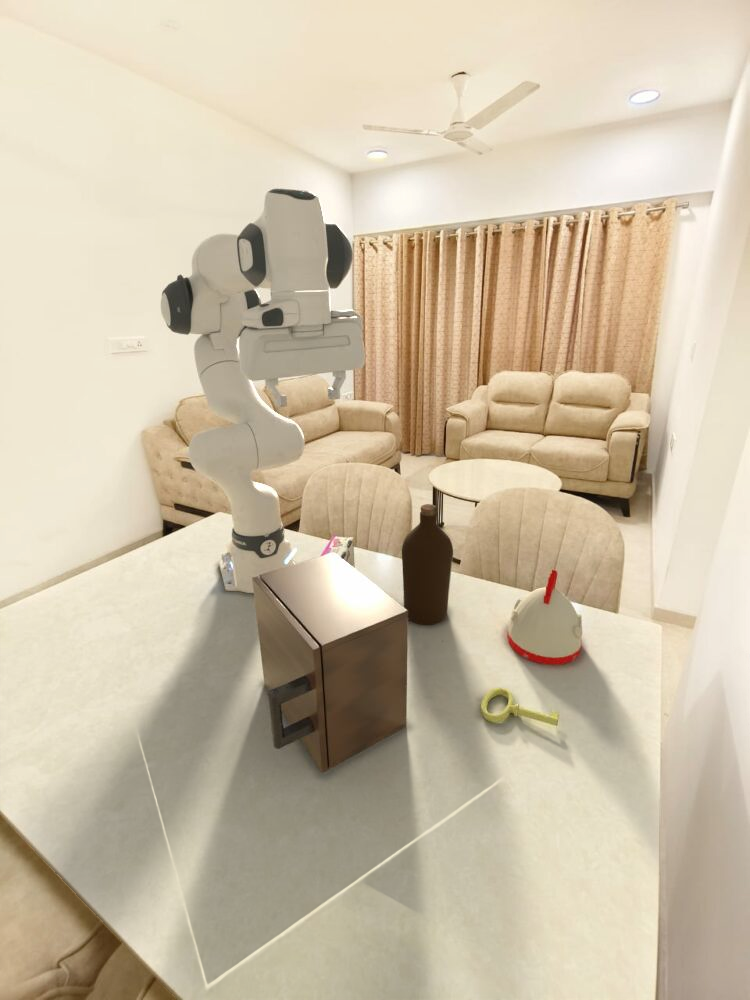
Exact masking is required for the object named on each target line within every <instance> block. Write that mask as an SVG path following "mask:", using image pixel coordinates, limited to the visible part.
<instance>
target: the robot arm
mask: <svg viewBox="0 0 750 1000" xmlns="http://www.w3.org/2000/svg"><path fill="white" fill-rule="evenodd" d="M263 203H264V204H263V211H262V212H261V214H260V216H259V217H258V218H257V219H256V220H255V221H253V222H250V223H248V224H247V225H246V226H245V227H244V228H243V229H242V230H241V232H240V233H239V234H236V233H228V232H227V233H226V232H225V233H217V234H214V235H210V236H209V237H207V238H205V239H204V240H203V241H202V242H200V243H199V244H198V246H197V247H196V248H195V250H194V252H193V254H192V258H191V275H190V276H189V277H187V276H186V277H184V276H183V275H182V274H178V275H177V278H176V280H174V281H172V282H170V283H169V284H167V286H166V287H165V288H164V289H163V290H162V293H161V298H160V312H161V315H162V318H163V320H164V322H165V324H166V327H167V328H168V329H169V330H170V331H171V332H173V333H175V334H178V335H187V336H188V335H190V334H191V335H199V337H197V339H196V340H195V342H194V345H193V352H194V353H193V354H194V362H195V368H196V372H197V374H198V375H197V376H198V379H199V382H200V385H201V388H202V391H203V394H204V397H205V400H206V403H207V406H208V409H209V410H210V411H211V412H212V413H213V414H214V415H215V416H216V417H218V418H220V419H222V420H225V421H228V422H231V423H233V424H228V425H220V426H214V427H211V428H207V429H205V430H202V431H199V432H197V433H195V434H194V435H193V436H192V438H191V440H190V442H189V444H188V453H187V454H188V459H189V462H190V464H191V466H192V468H193V469H194V470H195V472H197V474H199V476H200V475H201V476H202V477H203V478H206V479H208V480H209V481H212V482H213V483H214V484H215V485H217V486H218V487H219V488H220V489H221V490H222V492H223V493H224V496H225V497H226V499H227V501H228V505H229V509H230V514H231V519H232V526H233V527H232V529H231V540H230V542H228V543H227V544H226V546H225V547H226V552H225V553H221V559H220V560H219V561H218V562H219V563H218V565H219V566H218V567H219V569H220V573H221V574H220V575H221V578H222V581H223V585H224V590H225V591H227V592H241V593H246V594H247V593H248V594H254V591H253V582H252V578H253V577H257V576H258V577H259V575H261V574H264V573H267V572H270V571H274V570H277V569H280V568H284V567H287V566H290V565H294V564H297V563H296V562H295V561H294V560H293V556H295V554H296V553H297V548H296V547H295V548H294V549H293V550H292V548H291V547H292V546H291V543H290V541H289V540H287V538H285V527H284V523H283V522H282V517H281V505H280V497H279V495H278V493H277V491H276V490H275V489H274V488H272V487H271V486H269V485H267V484H263V483H261V482H256V481H254V480H253V473H255V472H260V471H265V470H271V469H277V468H282V467H284V466H288V465H289V464H291V463H295V462H296V461H298V460H300V459H301V457H302V456H303V454H304V451H305V448H306V447H305V445H306V440H305V436H304V433H303V430H302V428H301V427H300V426H299V425H298V424H297V423H296V422H295V421H293V420H292V419H289V418H287V417H284V416H282V415H281V414H278V413H277V412H276V411H274V410H273V409H272V408H270V406H268V405H267V403H265V402H264V401H263V400H262V398H261V397H260V395H259V394H258V392H257V389H256V388H255V386H254V384H253V382H257V381H258V382H259V381H264V385H265V386H266V387H267V389H268V391H269V392H270V393H271V395H272V396H273V402H274V403H273V404H274V407H276V408H284V407H287V406H288V402H287V400H288V399H287V395H285V394H283V393H280V391H279V390H278V388H277V387H278V386H279V379H282V378H293V377H300V376H309V375H310V376H311V375H320V374H327V373H332V377H334V381H333V383H332V385H331V387H327V398H328V400H332V401H334V400H340V399H341V389H342V386H343V384H344V382H345V380H346V378H347V373H346V372H348V371H354V370H355V371H356V370H361V369H363V367H364V366H365V364H366V351H365V345H364V339H363V320H362V319H363V318H362V317H361V315H359V313H357V312H355V311H354V310H353V309H345V310H338V309H337V310H335V309H334V310H332V309H331V308H332V307H331V290H330V289H332V290H333V289H338V288H339V287H340V286H341V284H342V283H344V281H345V280H346V279H347V277H348V275H349V274H350V271H351V270H352V266H353V262H354V261H353V259H354V254H353V248H352V244H351V242H350V239H349V238H348V237H347V235H346V233H345V232H344V231H343V230H342V229H341V227H340V225H338V224H337V223H336V222H334V221H326V219H325V215H324V214H325V213H324V210H323V205H322V202H321V199H320V197H319V196H318V195H317V194H315V192H312V191H309V190H301V189H300V190H299V189H289V188H272V189H271V190H269V191H267V192H266V193H265V195H264V202H263ZM259 288H261V289H269V290H270V292H269V293H270V300H268V301H266V302H263V303H262V301H261V296H260V294H259V293H258V291H257V289H259ZM276 386H277V387H276ZM259 578H260V577H259Z"/></svg>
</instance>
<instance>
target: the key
mask: <svg viewBox="0 0 750 1000" xmlns="http://www.w3.org/2000/svg"><path fill="white" fill-rule="evenodd" d="M497 696H503V697H505V698H506V699H507V700H508V702H507V705H506V707H505V708H504V709H503V710H502V711H501V712H499V713H491V712H489V711H488V705H489V702H490V700H491V699H493V698H494V697H497ZM480 711H481V714H482V716H483V718H484V719H485V720H486V721H488V722H490V723H496V724H497V723H502V722H503V721H505V720H507V719H508V717H509V716H510V714H511V713H512V714H513V716H514V717H518V716H522V717H524V718H528V719H531V720H535V721H539V722H541V723H546V724H549V725H552V726H555V727H557V726H558V725H559V716H560V711H557V712H556V711H555V710H551V712H550V715H548V714H545V713H542V712H538V711H534V710H532V709H528V708H525V707H522V706H520V704H519V703H516V704H514V697H513V694H512V692H511V691H510V690H509V689H507V688H504V687H495V688H493V689H490V690H489V691H488V692H487V693H486V694H485V695H484V697H483V698H482V701H481V703H480Z"/></svg>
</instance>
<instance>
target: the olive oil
mask: <svg viewBox="0 0 750 1000" xmlns="http://www.w3.org/2000/svg"><path fill="white" fill-rule="evenodd" d="M437 519H438V512H437V506H436V505H435V504H429V503H427V504H426V503H425V504H422V505H421V506H420V512H419V523H418V525H416V526H415V527H414V528H413V529H412V530H410V531H409V532H408V533H407V534H406V536H405V537H404V539H403V542H402V545H401V567H402V586H403V607H404V608H405V609H407V610H408V621H411V622H412V623H415V624H418V625H425V626H426V625H435V624H438V623H440V622H442V621H444V620H445V619H446V617H447V616H448V608H449V607H448V605H449V598H450V597H449V596H450V586H451V576H452V568H453V567H452V566H453V558H454V547H453V543H452V540H451V538H450V536H449V535H448V534H447V533H446V531H444V530H443V529H442V528H441V527H440V526H439V525H438V524H437Z"/></svg>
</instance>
